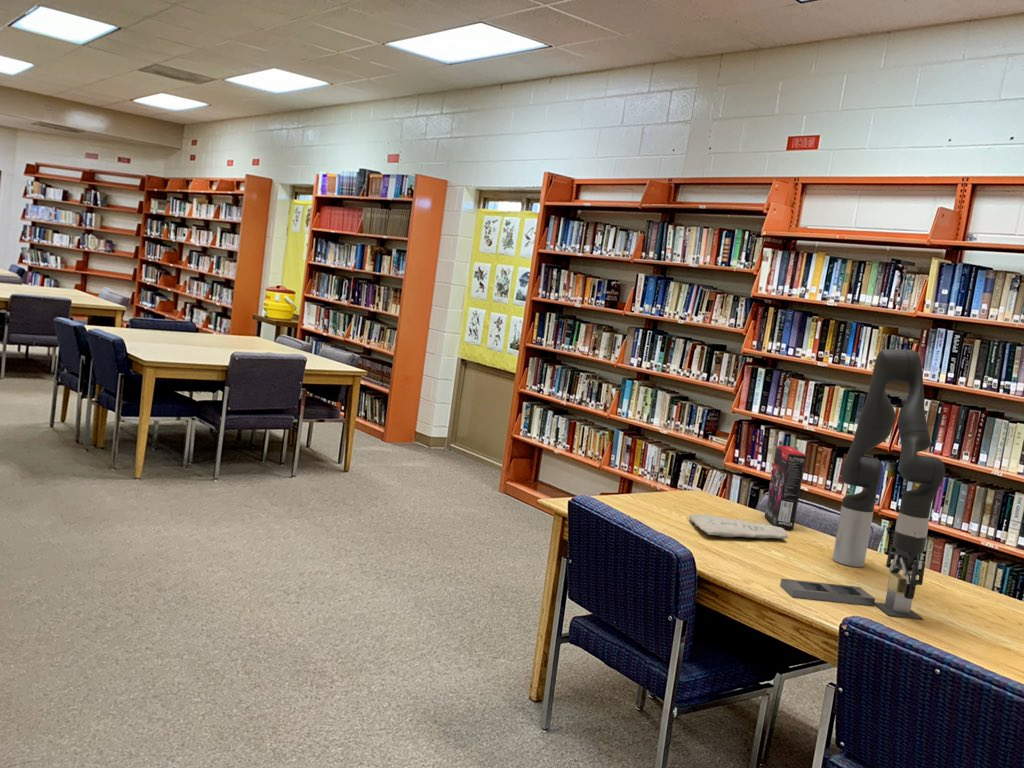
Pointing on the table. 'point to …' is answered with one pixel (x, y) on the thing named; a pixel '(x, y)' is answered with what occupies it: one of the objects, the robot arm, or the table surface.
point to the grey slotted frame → (827, 592)
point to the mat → (894, 614)
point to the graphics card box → (785, 487)
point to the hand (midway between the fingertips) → (900, 592)
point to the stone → (735, 527)
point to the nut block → (897, 594)
